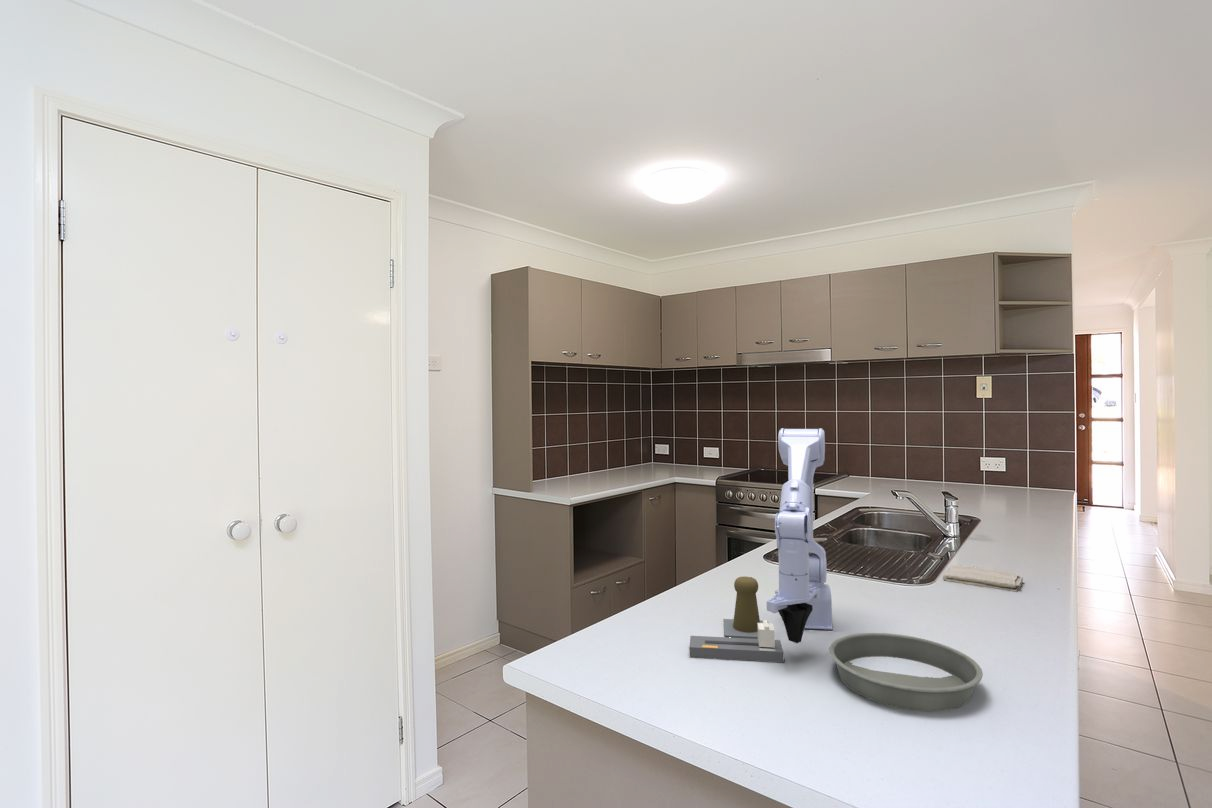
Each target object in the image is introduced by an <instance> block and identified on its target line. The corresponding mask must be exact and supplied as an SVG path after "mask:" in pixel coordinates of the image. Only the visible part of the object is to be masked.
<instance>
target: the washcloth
mask: <svg viewBox="0 0 1212 808" xmlns="http://www.w3.org/2000/svg"><path fill="white" fill-rule="evenodd" d="M942 578H943V581H945V582H949V583H955V584H956V583H957V584H963V585H969V586H974V587H975V586H976V587H982V588H988V589H996V590H1002V591H1005V592H1006V591H1007V592H1013V593H1017V591H1019V590H1020V589H1021V586H1022V584H1023V580H1024V577H1023V576H1020V575H1019V574H1018V573H1009V572H1006V571H1003V570H999V569H997V568H996V569H995V568H993V569H990V568H982V567H978V566H976V567H975V566H971V565H969V566H968V565H959V564H953V565H950V566H949V567H948V570H947V571H945V573H944V574H943V575H942Z"/></svg>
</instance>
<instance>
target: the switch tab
mask: <svg viewBox="0 0 1212 808" xmlns="http://www.w3.org/2000/svg"><path fill="white" fill-rule="evenodd" d="M762 621H763V623H757V628H758V644H759V647H773V648H775V640H776V638H775V637H776V634H775V633H776V631H775V626H774V623H768V622H769V621H768V620H766V619H765V620H764V619H763V620H762ZM767 621H768V622H767Z"/></svg>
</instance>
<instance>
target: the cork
mask: <svg viewBox="0 0 1212 808" xmlns="http://www.w3.org/2000/svg"><path fill="white" fill-rule="evenodd" d="M733 586H734V587H733V589H734V590H735V591H736V597H735V604H734V605H735V606H734V615H733V619H734V621H733V628H734V629H735V630H737V631H740V632H746V633H752V632H757V631H758V628H757V623H760V620H761V619H760V614H759V613H760V612H759V606H758V599H757V592H758V591H759V582H758V581H757V579H756V578H754V577H752V576H739V577H736V579H734V583H733Z"/></svg>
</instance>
